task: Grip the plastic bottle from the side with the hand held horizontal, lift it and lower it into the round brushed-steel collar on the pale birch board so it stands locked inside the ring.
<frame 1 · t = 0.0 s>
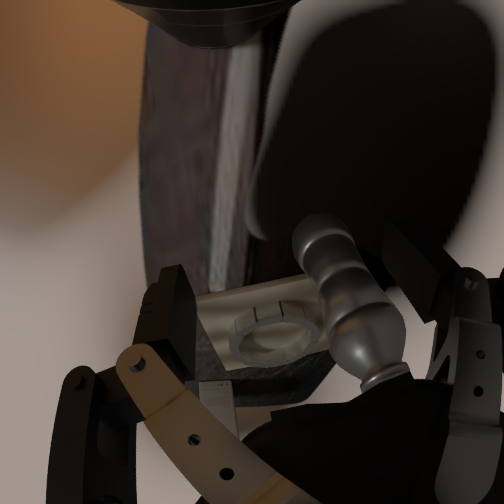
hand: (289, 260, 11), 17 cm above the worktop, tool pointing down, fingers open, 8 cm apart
skincare box: (217, 388, 52), on the worktop
birch board: (271, 325, 41), on the worktop
plastic bottle: (315, 230, 32), on the worktop
steel collar: (272, 331, 40), resting on birch board
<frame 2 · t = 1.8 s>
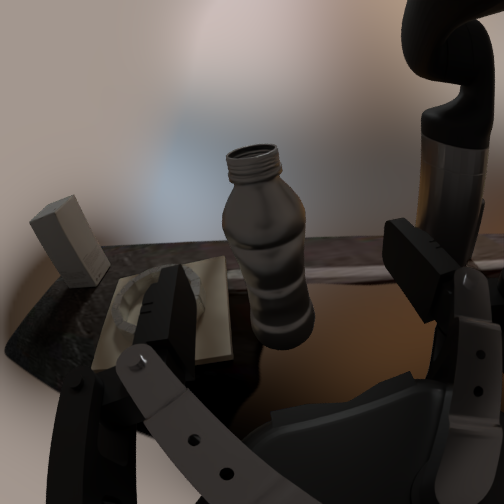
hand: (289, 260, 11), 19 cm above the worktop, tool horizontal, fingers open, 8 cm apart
skincare box: (89, 278, 47), on the worktop
birch board: (163, 314, 36), on the worktop
plastic bottle: (285, 335, 31), on the worktop
steel collar: (161, 308, 36), resting on birch board
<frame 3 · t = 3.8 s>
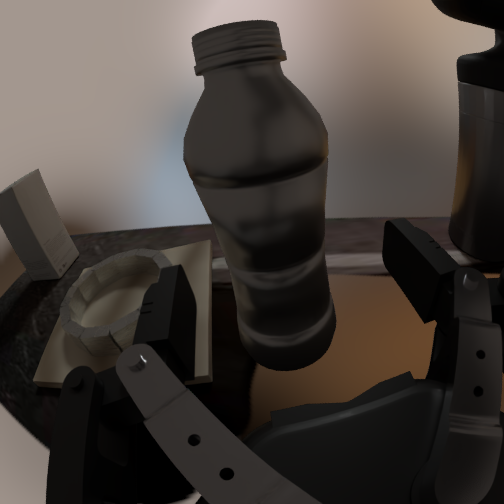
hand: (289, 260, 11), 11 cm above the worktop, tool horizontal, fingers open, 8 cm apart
skincare box: (55, 270, 38), on the worktop
birch board: (127, 313, 26), on the worktop
plastic bottle: (290, 347, 20), on the worktop
steel collar: (122, 306, 26), resting on birch board
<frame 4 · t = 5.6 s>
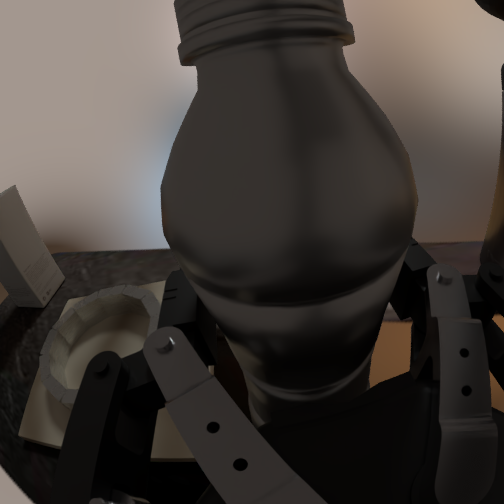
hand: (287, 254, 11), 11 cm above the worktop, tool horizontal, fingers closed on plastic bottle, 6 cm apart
skincare box: (40, 295, 32), on the worktop
birch board: (115, 362, 21), on the worktop
plastic bottle: (310, 418, 15), on the worktop, touching gripper
steel collar: (109, 355, 21), resting on birch board
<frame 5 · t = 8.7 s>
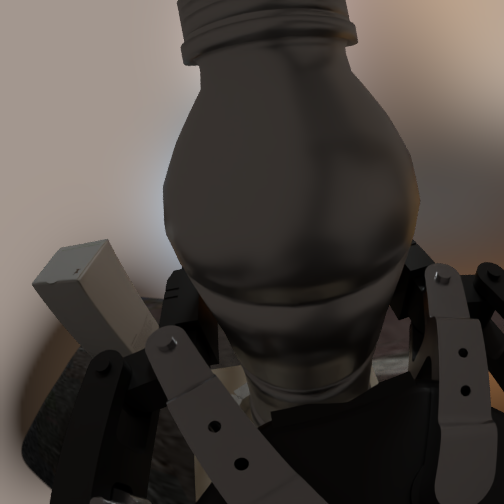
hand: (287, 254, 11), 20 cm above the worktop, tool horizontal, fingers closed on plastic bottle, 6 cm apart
skincare box: (133, 356, 33), on the worktop
birch board: (293, 439, 21), on the worktop
plastic bottle: (310, 418, 15), point 9 cm above the worktop, touching gripper
steel collar: (293, 437, 21), resting on birch board
when the fingers open (13 cm above the worktop, at t = 11.4 s): plastic bottle drops 1 cm, resting on birch board.
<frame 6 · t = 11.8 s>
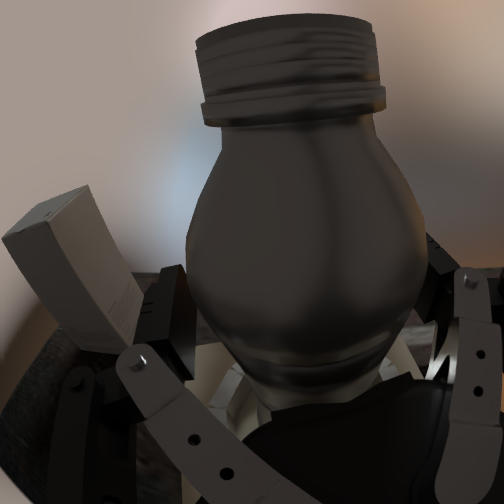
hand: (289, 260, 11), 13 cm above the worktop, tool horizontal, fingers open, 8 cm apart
skincare box: (115, 334, 28), on the worktop
birch board: (310, 429, 17), on the worktop
plastic bottle: (313, 426, 16), point 1 cm above the worktop, touching birch board
steel collar: (309, 424, 16), resting on birch board
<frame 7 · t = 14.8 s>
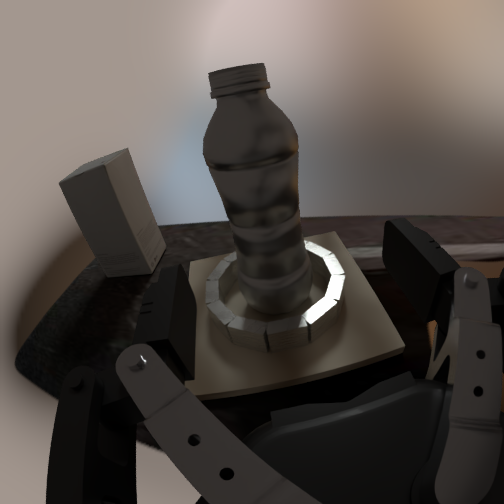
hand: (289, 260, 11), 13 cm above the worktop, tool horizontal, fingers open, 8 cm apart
skincare box: (136, 264, 38), on the worktop
birch board: (277, 304, 27), on the worktop
plastic bottle: (279, 299, 27), point 1 cm above the worktop, touching birch board
steel collar: (276, 297, 27), resting on birch board
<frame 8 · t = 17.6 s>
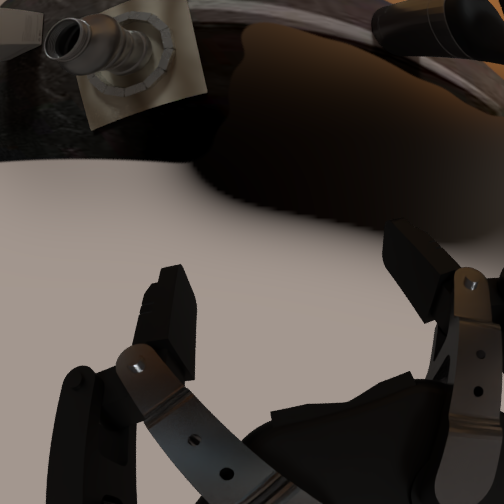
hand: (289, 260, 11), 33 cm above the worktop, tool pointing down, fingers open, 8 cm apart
skincare box: (25, 38, 23), on the worktop
birch board: (133, 54, 30), on the worktop
plastic bottle: (133, 54, 29), point 1 cm above the worktop, touching birch board
steel collar: (131, 54, 29), resting on birch board
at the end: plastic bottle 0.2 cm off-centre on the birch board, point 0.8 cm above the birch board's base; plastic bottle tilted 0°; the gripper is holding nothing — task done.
